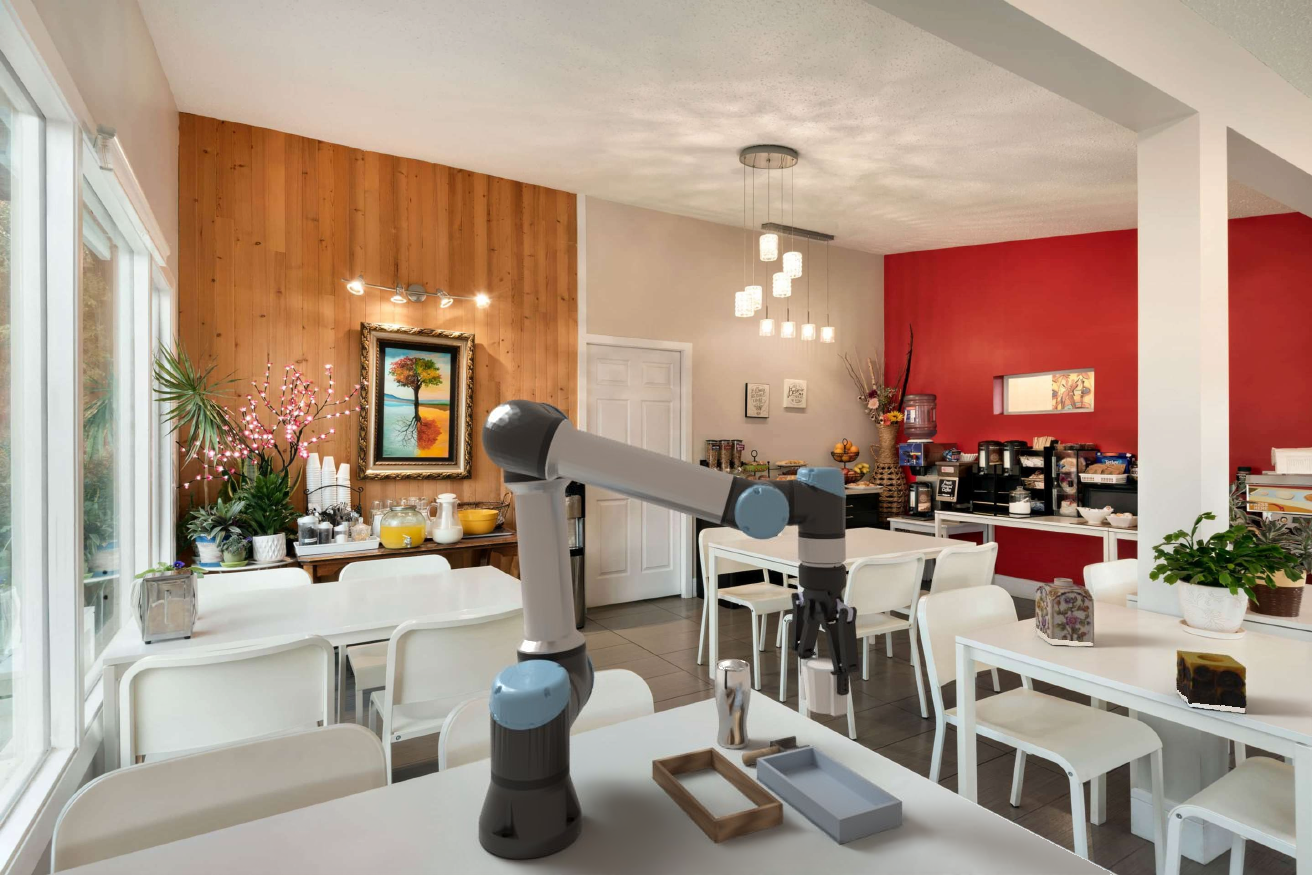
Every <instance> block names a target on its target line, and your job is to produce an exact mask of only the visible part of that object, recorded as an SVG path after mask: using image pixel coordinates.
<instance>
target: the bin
mask: <svg viewBox="0 0 1312 875" xmlns="http://www.w3.org/2000/svg"><path fill="white" fill-rule="evenodd" d="M756 780H757V781H759V782H760V784H763V786H765V787H766V788H767V789H768V790H770V791H771V792H773V793H774V794H775V795H777V796H778V798H780V799H781V800H783V801H784V802H785V803H787V805H789V806H790V807H791V808H792V809H794V810H796V811H797V812H798V813H799V814H800V815H802V816H803V817H805V819H807V820H808V821H809V822H810V823H812V824H813V825H814V826H816V827H817V828H818V829H819V830H821V831H822V832H823V833H825V835H827V836H828V837H829V838H831V839H832V840H833V841H834V842H836V843H837V844H839V845H842V844H846V843H849V842H852V841H854V840H858V839H861V838H864V837H865V838H866V837H868V836H871V835H874V834H878V833H880V832H884V831H887V830H890V829H893V828H894V829H895V828H897V827H900V826H902V825H903V801H902V800H901V799H899V798H897V797H895V796H894V795H893V794H891V793H889V792H888V791H886V790H885V789H884V788H881V787H880V786H878V785H877V784H875V783H874V782H872V781H870V780H868V779H867V778H866V777H864V776H862V775H861V774H859V773H858V772H856V771H854V770H853V769H851V768H850V767H849V766H847V765H845V764H843V763H842V762H841V761H838V760H837V759H836V758H833V757H832V756H830V755H829V754H828V753H826V752H824V751H823V750H821V749H819V748H818V747H816V746H815V745H810V746H809V747H804V748H800V749H796V750H791V751H787V752H783V753H778V754H774V755H770V756H765V757H761V758H757V763H756Z"/></svg>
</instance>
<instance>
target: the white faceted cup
mask: <svg viewBox="0 0 1312 875" xmlns="http://www.w3.org/2000/svg"><path fill="white" fill-rule="evenodd" d="M811 658H812V657H811ZM840 666H841V664H840ZM802 667H803V676H804V685H805V694H806V700H805V703H806V708H807V709H808V710H810V712H814V713H817V714H823V715H831V698H830V672H831V671H834V668H833V664H832V660H831V658H827V657H815V658H812V659H807V660H804V661H803V662H802Z"/></svg>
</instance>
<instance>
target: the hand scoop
mask: <svg viewBox="0 0 1312 875" xmlns="http://www.w3.org/2000/svg"><path fill="white" fill-rule="evenodd" d="M809 746H811V745H810V744H805V745H802V746H798V745H797V736H796V735H793V736H787V737H784V738H783V737H782V738H779V739H774V740H770V741H769V747H766V748H761V749H755V750H752V751H748V752H743V753H742V755H741V761H742V763H743V765H744V766H750V765H755V764H757V758H761V757H765V756H770V755H774V754H778V753H783V752H787V751H791V750H796V749H800V748H804V747H809Z"/></svg>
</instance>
